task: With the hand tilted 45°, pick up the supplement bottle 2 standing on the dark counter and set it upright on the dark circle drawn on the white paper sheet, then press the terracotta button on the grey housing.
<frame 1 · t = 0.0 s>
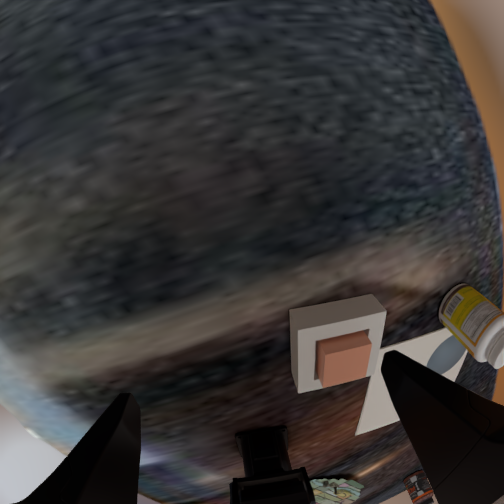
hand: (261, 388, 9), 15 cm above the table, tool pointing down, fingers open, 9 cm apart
button housing: (330, 335, 28), on the table
drawing paper: (418, 380, 34), on the table
supplement bottle 2: (452, 301, 29), on the table
supplement bottle: (412, 474, 54), on the table
city model: (305, 493, 47), on the table
done button: (342, 357, 25), point 3 cm above the table, slide at 0.0 cm
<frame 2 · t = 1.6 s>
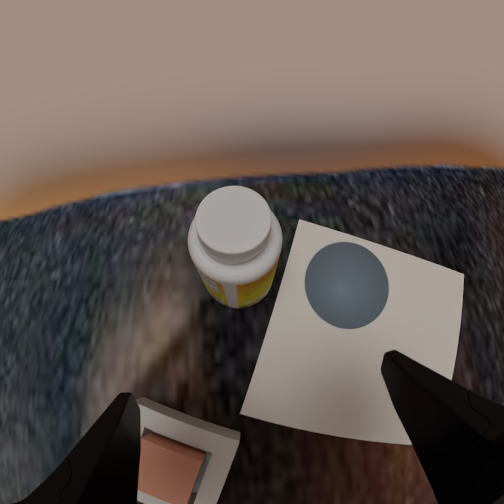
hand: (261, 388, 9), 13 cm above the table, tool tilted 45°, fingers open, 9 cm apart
button housing: (177, 457, 19), on the table
drawing paper: (375, 340, 23), on the table
supplement bottle 2: (238, 277, 25), on the table
done button: (167, 469, 16), point 3 cm above the table, slide at 0.0 cm
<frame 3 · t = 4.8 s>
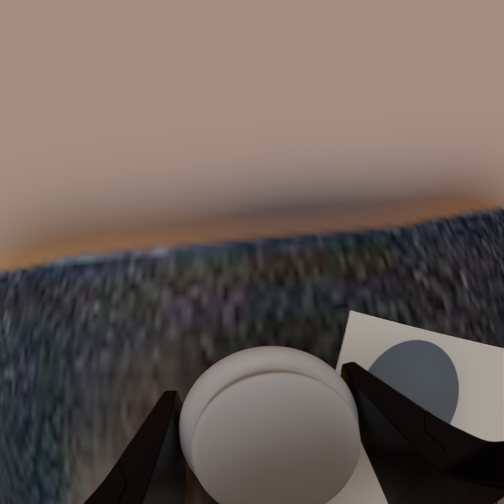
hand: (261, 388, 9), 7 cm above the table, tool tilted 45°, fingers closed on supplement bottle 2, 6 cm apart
drawing paper: (434, 460, 13), on the table
supplement bottle 2: (260, 403, 15), on the table, touching gripper
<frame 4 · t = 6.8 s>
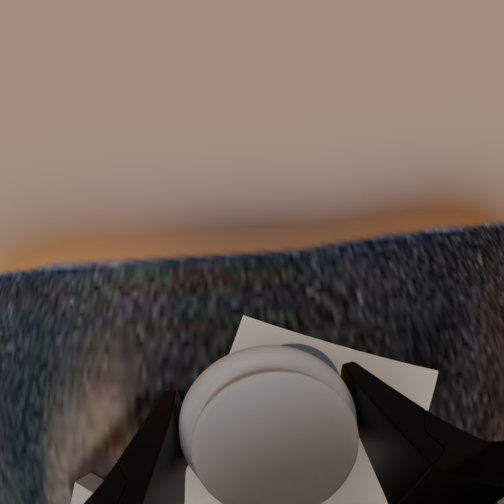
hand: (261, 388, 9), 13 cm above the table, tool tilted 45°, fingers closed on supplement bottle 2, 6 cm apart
drawing paper: (317, 448, 20), on the table
supplement bottle 2: (258, 403, 15), point 6 cm above the table, touching gripper
when the fingers open (8 cm above the table, at t = 8.6 s): supplement bottle 2 drops 1 cm, resting on drawing paper.
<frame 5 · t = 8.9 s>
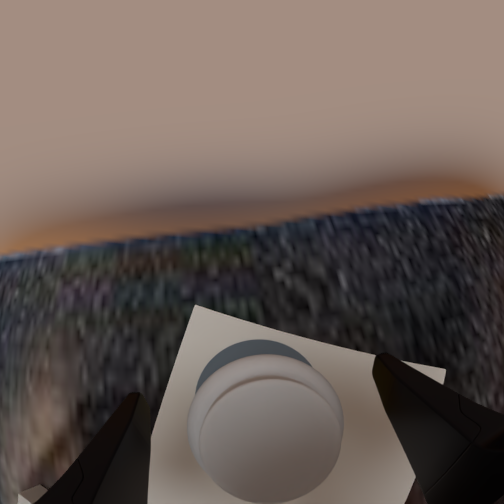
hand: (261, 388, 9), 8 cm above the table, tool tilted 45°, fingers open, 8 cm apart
drawing paper: (294, 469, 15), on the table
supplement bottle 2: (258, 403, 17), resting on drawing paper
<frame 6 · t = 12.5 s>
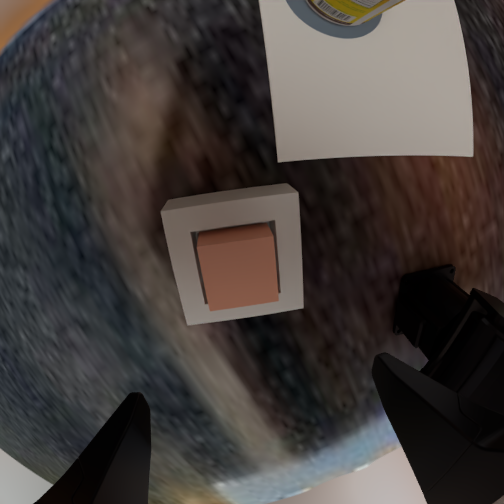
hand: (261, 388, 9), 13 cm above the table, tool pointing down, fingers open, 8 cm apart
button housing: (234, 246, 21), on the table
drawing paper: (385, 46, 17), on the table
done button: (238, 266, 18), point 3 cm above the table, slide at 0.0 cm
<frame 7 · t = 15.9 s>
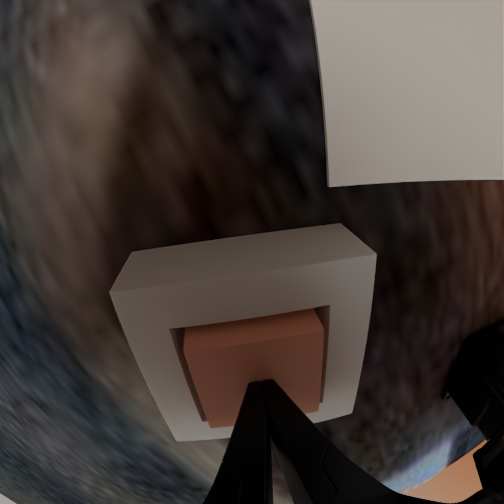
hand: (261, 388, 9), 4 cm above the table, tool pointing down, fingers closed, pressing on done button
button housing: (248, 324, 13), on the table
drawing paper: (472, 19, 8), on the table
done button: (255, 363, 11), point 2 cm above the table, slide at 0.8 cm, touching gripper
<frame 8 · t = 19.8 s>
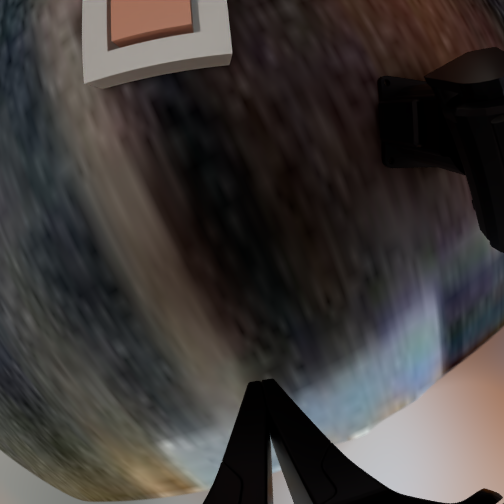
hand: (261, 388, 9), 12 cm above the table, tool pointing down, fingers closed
button housing: (159, 19, 14), on the table
done button: (153, 7, 12), point 2 cm above the table, slide at 1.0 cm
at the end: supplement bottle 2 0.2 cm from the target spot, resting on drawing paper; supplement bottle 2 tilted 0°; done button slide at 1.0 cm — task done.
